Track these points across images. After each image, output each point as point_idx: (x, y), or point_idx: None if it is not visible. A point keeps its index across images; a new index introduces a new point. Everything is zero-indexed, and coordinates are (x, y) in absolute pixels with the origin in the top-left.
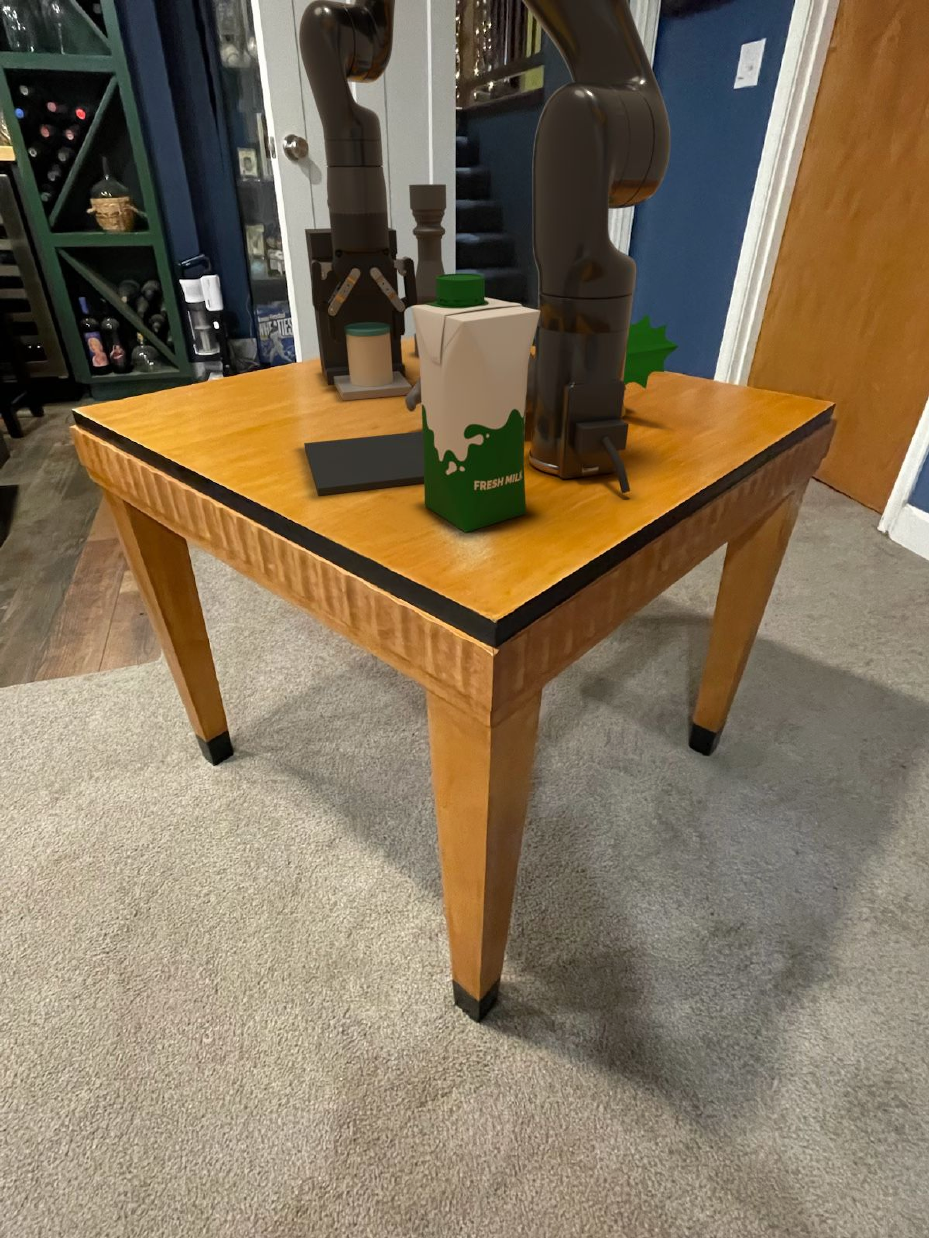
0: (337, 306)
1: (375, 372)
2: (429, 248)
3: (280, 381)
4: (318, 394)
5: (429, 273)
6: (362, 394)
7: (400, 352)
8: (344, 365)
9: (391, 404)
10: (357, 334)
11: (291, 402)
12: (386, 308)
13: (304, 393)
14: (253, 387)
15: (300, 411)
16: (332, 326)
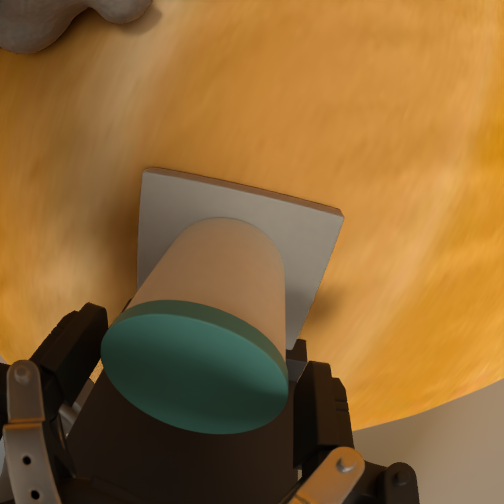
0: (323, 479)
1: (225, 235)
2: (8, 497)
3: (363, 389)
4: (359, 292)
5: None
6: (287, 199)
7: None
8: None
9: (235, 109)
10: (263, 341)
11: (432, 265)
12: (100, 447)
13: (377, 312)
14: (415, 375)
15: (451, 191)
16: (339, 415)
